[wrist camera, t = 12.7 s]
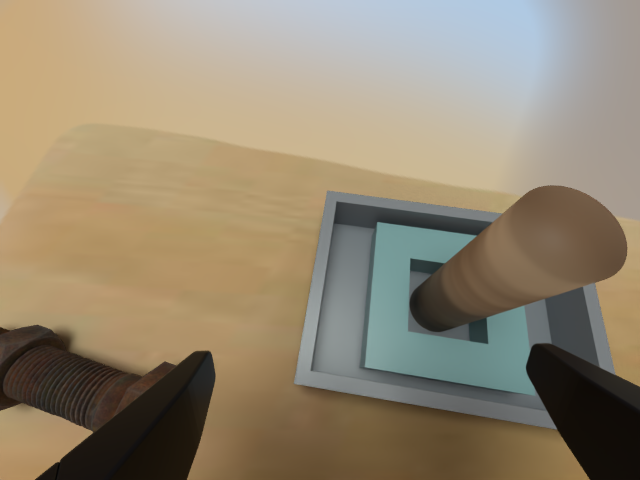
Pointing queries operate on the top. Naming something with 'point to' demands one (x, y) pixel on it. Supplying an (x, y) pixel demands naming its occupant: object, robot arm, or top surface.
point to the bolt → (65, 379)
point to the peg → (523, 259)
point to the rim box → (412, 339)
